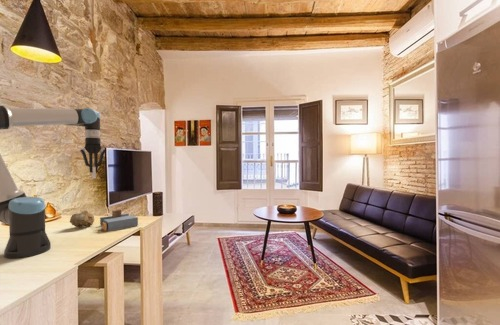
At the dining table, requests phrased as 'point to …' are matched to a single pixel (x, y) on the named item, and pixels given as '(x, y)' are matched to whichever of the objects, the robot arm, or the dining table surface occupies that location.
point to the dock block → (119, 221)
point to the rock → (82, 219)
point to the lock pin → (104, 226)
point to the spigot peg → (116, 213)
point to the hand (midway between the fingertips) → (93, 178)
